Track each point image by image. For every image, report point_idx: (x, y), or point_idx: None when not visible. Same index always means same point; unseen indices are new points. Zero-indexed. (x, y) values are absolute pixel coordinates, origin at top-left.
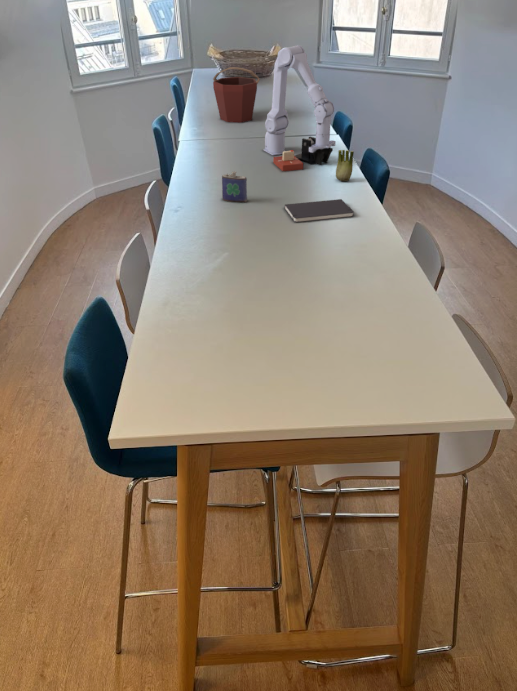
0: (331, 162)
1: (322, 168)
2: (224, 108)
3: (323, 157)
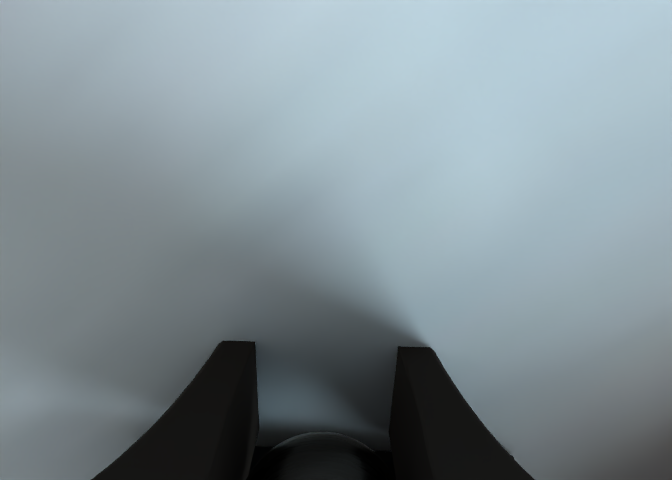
0: (129, 307)
1: (590, 203)
2: None
3: (331, 461)
